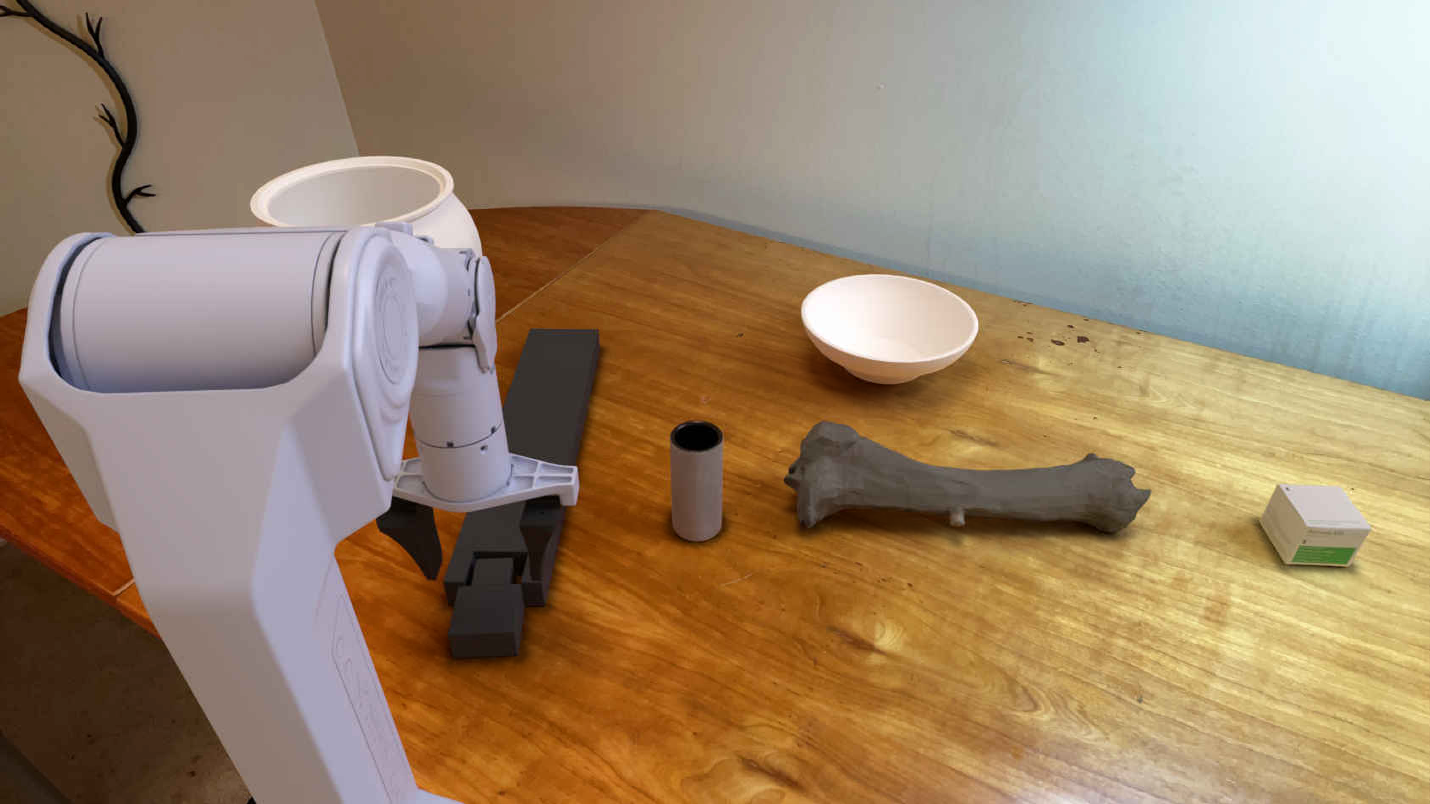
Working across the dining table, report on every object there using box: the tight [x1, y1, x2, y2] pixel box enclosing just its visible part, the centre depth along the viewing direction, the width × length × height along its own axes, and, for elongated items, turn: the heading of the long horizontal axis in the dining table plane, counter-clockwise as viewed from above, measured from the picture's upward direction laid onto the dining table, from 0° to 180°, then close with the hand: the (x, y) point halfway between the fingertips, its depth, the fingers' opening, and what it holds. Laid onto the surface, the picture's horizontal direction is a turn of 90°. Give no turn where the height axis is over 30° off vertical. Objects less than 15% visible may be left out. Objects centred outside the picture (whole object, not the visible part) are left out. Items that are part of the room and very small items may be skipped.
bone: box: [783, 420, 1152, 534], centre depth 82 cm, size 32×10×9 cm, turn 87°
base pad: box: [442, 328, 601, 607], centre depth 90 cm, size 40×8×3 cm, turn 179°
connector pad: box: [447, 558, 526, 659], centre depth 73 cm, size 8×5×3 cm, turn 4°
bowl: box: [800, 273, 979, 385], centre depth 103 cm, size 20×20×7 cm
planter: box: [669, 419, 724, 542], centre depth 80 cm, size 4×4×10 cm
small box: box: [1258, 483, 1372, 568], centre depth 80 cm, size 6×6×5 cm
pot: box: [249, 155, 483, 258], centre depth 110 cm, size 29×26×16 cm
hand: (487, 570), depth 67 cm, fingers open, 7 cm apart
